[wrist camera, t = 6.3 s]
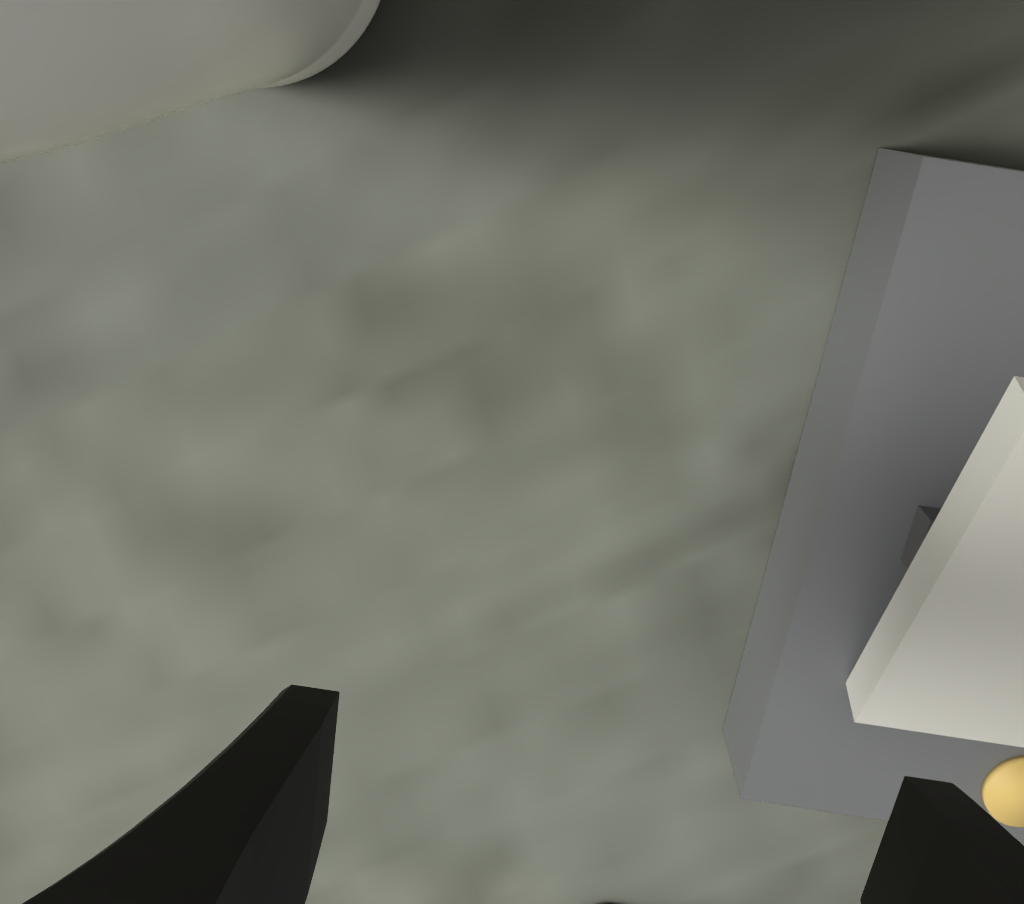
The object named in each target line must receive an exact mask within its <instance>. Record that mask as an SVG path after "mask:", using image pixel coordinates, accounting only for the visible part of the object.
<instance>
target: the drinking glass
mask: <svg viewBox="0 0 1024 904" xmlns="http://www.w3.org/2000/svg"><path fill="white" fill-rule="evenodd" d="M380 1H381V0H0V164H2V163H7V162H12V161H16V160H21V159H26V158H30V157H34V156H37V155H41V154H45V153H49V152H53V151H57V150H61V149H64V148H68V147H72V146H75V145H79V144H83V143H86V142H89V141H93V140H96V139H99V138H102V137H106V136H109V135H112V134H115V133H119V132H121V131H124V130H127V129H130V128H133V127H136V126H139V125H142V124H145V123H148V122H151V121H154V120H157V119H160V118H163V117H166V116H169V115H172V114H175V113H178V112H181V111H184V110H187V109H190V108H193V107H196V106H199V105H202V104H205V103H208V102H211V101H215V100H218V99H221V98H224V97H227V96H230V95H233V94H237V93H240V92H243V91H246V90H250V89H253V88H271V87H278V86H284V85H288V84H292V83H295V82H299V81H301V80H304V79H306V78H309V77H312V76H313V75H315V74H317V73H319V72H321V71H323V70H325V69H326V68H328V67H329V66H330V65H332V64H333V63H335V62H336V61H337V60H338V59H340V58H341V57H342V56H343V55H344V54H346V52H347V51H348V50H349V49H350V48H351V47H352V46H353V45H354V44H355V43H356V42H357V40H358V39H359V38H360V37H361V35H362V34H363V33H364V31H365V30H366V28H367V26H368V25H369V23H370V22H371V20H372V18H373V16H374V14H375V12H376V10H377V8H378V6H379V3H380Z"/></svg>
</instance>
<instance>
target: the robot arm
mask: <svg viewBox="0 0 1024 904" xmlns="http://www.w3.org/2000/svg"><path fill="white" fill-rule="evenodd" d="M338 701H339V692H337V691H331V690H324V689H317V688H311V687H304V686H297V685H290V686H289V687H287V688H286V689H284V690H283V691H282V692H281V693H280V694H279V695H278V696H277V697H276V698H275V699H274V700H273V701H272V702H271V703H270V704H269V706H268V707H267V708H266V709H265V710H264V711H263V712H262V713H261V714H260V715H259V716H258V717H257V718H256V719H255V720H254V721H253V722H252V723H251V724H250V725H249V726H248V727H247V728H246V729H245V730H244V731H243V732H242V733H241V734H240V735H239V736H238V737H237V738H236V739H235V740H234V741H233V742H232V743H231V744H230V745H229V746H228V747H227V748H226V749H224V750H223V751H222V752H221V753H220V754H219V755H218V756H217V757H216V758H215V759H213V760H212V761H211V762H210V763H209V764H208V765H207V766H206V767H205V768H204V769H202V770H201V771H200V772H199V773H198V774H197V775H196V776H195V777H194V778H193V779H192V780H190V781H189V782H188V783H187V784H186V785H185V786H184V787H182V788H181V789H180V790H179V791H178V792H177V793H175V794H174V795H173V796H172V797H170V798H169V799H168V800H167V801H165V802H164V803H163V804H162V805H161V806H159V807H158V808H157V809H156V810H154V811H153V812H152V813H151V814H149V815H148V816H147V817H146V818H145V819H143V820H142V821H141V822H140V823H138V824H137V825H136V826H135V827H134V828H132V829H131V830H130V831H128V832H127V833H126V834H124V835H123V836H122V837H120V838H119V839H118V840H116V841H115V842H114V843H112V844H111V845H110V846H108V847H107V848H106V849H104V850H103V851H101V852H100V853H99V854H97V855H96V856H94V857H93V858H92V859H90V860H89V861H87V862H86V863H84V864H83V865H81V866H80V867H78V868H77V869H76V870H74V871H73V872H71V873H70V874H68V875H67V876H65V877H64V878H62V879H61V880H59V881H58V882H56V883H55V884H53V885H52V886H50V887H48V888H47V889H45V890H44V891H42V892H40V893H39V894H37V895H36V896H34V897H32V898H31V899H29V900H27V901H26V902H24V903H23V904H305V901H306V899H307V895H308V891H309V888H310V884H311V880H312V877H313V873H314V869H315V865H316V862H317V858H318V854H319V850H320V846H321V842H322V838H323V835H324V831H325V827H326V823H327V815H328V805H329V795H330V784H331V774H332V764H333V753H334V743H335V732H336V722H337V712H338ZM860 900H861V904H1024V846H1023V845H1022V844H1021V843H1020V842H1019V841H1018V840H1017V839H1016V838H1015V837H1013V836H1012V835H1011V834H1010V833H1009V832H1008V831H1007V830H1006V829H1005V828H1004V827H1003V826H1002V825H1000V824H999V823H998V822H997V821H996V820H995V819H994V818H993V817H992V816H991V815H989V814H988V813H987V812H986V811H985V810H984V809H983V808H982V807H980V806H979V805H978V804H977V803H976V802H975V801H974V800H972V799H971V798H970V797H969V796H968V795H967V794H965V793H964V792H963V791H962V790H961V789H959V788H958V787H957V786H956V785H954V784H953V783H950V782H943V781H936V780H930V779H923V778H916V777H909V776H904V779H903V782H902V784H901V787H900V790H899V793H898V796H897V798H896V801H895V804H894V807H893V810H892V812H891V815H890V818H889V821H888V824H887V826H886V829H885V832H884V835H883V838H882V840H881V843H880V846H879V849H878V852H877V854H876V857H875V860H874V863H873V866H872V868H871V871H870V874H869V877H868V880H867V882H866V885H865V888H864V891H863V894H862V896H861V899H860Z"/></svg>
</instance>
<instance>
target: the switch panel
mask: <svg viewBox="0 0 1024 904" xmlns="http://www.w3.org/2000/svg"><path fill="white" fill-rule="evenodd" d="M1014 376H1018V377H1024V170H1018V169H1011V168H1005V167H998V166H992V165H986V164H979V163H973V162H966V161H960V160H953V159H947V158H941V157H934V156H928V155H921V154H915V153H908V152H902V151H895V150H889V149H883V148H879V150H878V154H877V157H876V161H875V165H874V168H873V172H872V176H871V180H870V183H869V187H868V191H867V195H866V198H865V202H864V206H863V209H862V213H861V217H860V221H859V224H858V228H857V232H856V236H855V239H854V243H853V247H852V250H851V254H850V258H849V262H848V265H847V269H846V273H845V276H844V280H843V284H842V288H841V291H840V295H839V299H838V303H837V306H836V310H835V314H834V317H833V321H832V325H831V329H830V332H829V336H828V340H827V343H826V347H825V351H824V355H823V358H822V362H821V366H820V370H819V373H818V377H817V381H816V384H815V388H814V392H813V396H812V399H811V403H810V407H809V411H808V414H807V418H806V422H805V425H804V429H803V433H802V437H801V440H800V444H799V448H798V451H797V455H796V459H795V463H794V466H793V470H792V474H791V478H790V481H789V485H788V489H787V492H786V496H785V500H784V504H783V507H782V511H781V515H780V518H779V522H778V526H777V530H776V533H775V537H774V541H773V545H772V548H771V552H770V556H769V559H768V563H767V567H766V571H765V574H764V578H763V582H762V586H761V589H760V593H759V597H758V600H757V604H756V608H755V612H754V615H753V619H752V623H751V626H750V630H749V634H748V638H747V641H746V645H745V649H744V653H743V656H742V660H741V664H740V667H739V671H738V675H737V679H736V682H735V686H734V690H733V693H732V697H731V701H730V705H729V708H728V712H727V716H726V720H725V723H724V727H723V733H724V737H725V741H726V745H727V749H728V752H729V756H730V760H731V764H732V768H733V772H734V776H735V780H736V784H737V787H738V791H739V795H740V799H744V800H751V801H758V802H765V803H771V804H778V805H785V806H792V807H798V808H805V809H812V810H819V811H825V812H832V813H839V814H846V815H852V816H859V817H866V818H873V819H879V820H886V821H889V818H890V815H891V812H892V810H893V807H894V804H895V801H896V798H897V796H898V793H899V790H900V787H901V784H902V782H903V779H904V776H909V777H916V778H923V779H930V780H936V781H943V782H950V783H953V784H954V785H956V786H957V787H958V788H959V789H961V790H962V791H963V792H964V793H965V794H967V795H968V796H969V797H970V798H971V799H972V800H974V801H975V802H976V803H977V804H978V805H979V806H980V807H982V808H983V809H984V810H985V811H986V812H987V813H988V814H989V815H991V816H992V817H993V818H994V819H995V820H996V821H997V822H998V823H999V824H1000V825H1002V826H1003V827H1004V828H1005V829H1006V830H1007V831H1008V832H1009V833H1010V834H1011V835H1012V836H1013V837H1015V838H1016V839H1017V840H1021V841H1024V747H1017V746H1010V745H1003V744H997V743H990V742H983V741H977V740H970V739H963V738H957V737H950V736H943V735H936V734H930V733H923V732H916V731H910V730H903V729H896V728H889V727H883V726H876V725H869V724H863V723H856V722H854V718H853V714H852V709H851V705H850V700H849V696H848V692H847V687H846V682H847V679H848V677H849V676H850V674H851V672H852V670H853V668H854V667H855V665H856V663H857V661H858V659H859V657H860V656H861V654H862V652H863V650H864V648H865V647H866V645H867V643H868V641H869V639H870V637H871V636H872V634H873V632H874V630H875V628H876V627H877V625H878V623H879V621H880V619H881V617H882V616H883V614H884V612H885V610H886V608H887V606H888V605H889V603H890V601H891V599H892V597H893V596H894V594H895V592H896V590H897V588H898V586H899V585H900V583H901V581H902V579H903V577H904V576H905V574H906V572H907V570H908V568H909V566H910V565H911V563H912V561H913V559H914V557H915V556H916V554H917V552H918V550H919V548H920V546H921V545H922V543H923V541H924V539H925V537H926V536H927V534H928V532H929V530H930V528H931V526H932V525H933V523H934V521H935V519H936V517H937V516H938V514H939V512H940V510H941V508H942V506H943V505H944V503H945V501H946V499H947V497H948V495H949V494H950V492H951V490H952V488H953V486H954V485H955V483H956V481H957V479H958V477H959V475H960V474H961V472H962V470H963V468H964V466H965V465H966V463H967V461H968V459H969V457H970V455H971V454H972V452H973V450H974V448H975V446H976V445H977V443H978V441H979V439H980V437H981V435H982V434H983V432H984V430H985V428H986V426H987V425H988V423H989V421H990V419H991V417H992V415H993V414H994V412H995V410H996V408H997V406H998V405H999V403H1000V401H1001V399H1002V397H1003V395H1004V394H1005V392H1006V390H1007V388H1008V386H1009V384H1010V383H1011V381H1012V379H1013V377H1014Z"/></svg>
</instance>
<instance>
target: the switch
mask: <svg viewBox="0 0 1024 904" xmlns="http://www.w3.org/2000/svg"><path fill="white" fill-rule="evenodd" d="M846 687H847V692H848V696H849V700H850V705H851V709H852V714H853V718H854V722H856V723H863V724H869V725H876V726H883V727H889V728H896V729H903V730H910V731H916V732H923V733H930V734H936V735H943V736H950V737H957V738H963V739H970V740H977V741H983V742H990V743H997V744H1003V745H1010V746H1017V747H1024V377H1018V376H1014V377H1013V379H1012V381H1011V383H1010V384H1009V386H1008V388H1007V390H1006V392H1005V394H1004V395H1003V397H1002V399H1001V401H1000V403H999V405H998V406H997V408H996V410H995V412H994V414H993V415H992V417H991V419H990V421H989V423H988V425H987V426H986V428H985V430H984V432H983V434H982V435H981V437H980V439H979V441H978V443H977V445H976V446H975V448H974V450H973V452H972V454H971V455H970V457H969V459H968V461H967V463H966V465H965V466H964V468H963V470H962V472H961V474H960V475H959V477H958V479H957V481H956V483H955V485H954V486H953V488H952V490H951V492H950V494H949V495H948V497H947V499H946V501H945V503H944V505H943V506H942V508H941V510H940V512H939V514H938V516H937V517H936V519H935V521H934V523H933V525H932V526H931V528H930V530H929V532H928V534H927V536H926V537H925V539H924V541H923V543H922V545H921V546H920V548H919V550H918V552H917V554H916V556H915V557H914V559H913V561H912V563H911V565H910V566H909V568H908V570H907V572H906V574H905V576H904V577H903V579H902V581H901V583H900V585H899V586H898V588H897V590H896V592H895V594H894V596H893V597H892V599H891V601H890V603H889V605H888V606H887V608H886V610H885V612H884V614H883V616H882V617H881V619H880V621H879V623H878V625H877V627H876V628H875V630H874V632H873V634H872V636H871V637H870V639H869V641H868V643H867V645H866V647H865V648H864V650H863V652H862V654H861V656H860V657H859V659H858V661H857V663H856V665H855V667H854V668H853V670H852V672H851V674H850V676H849V677H848V679H847V682H846Z"/></svg>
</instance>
